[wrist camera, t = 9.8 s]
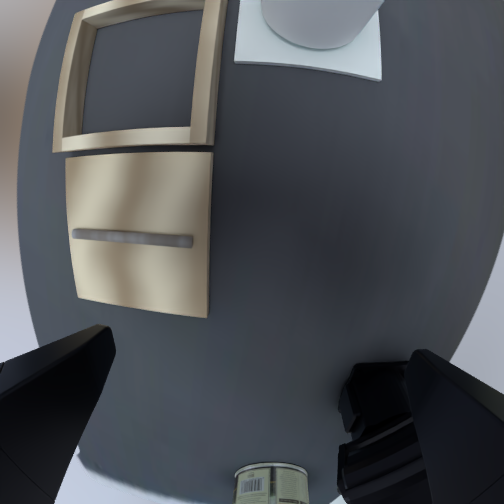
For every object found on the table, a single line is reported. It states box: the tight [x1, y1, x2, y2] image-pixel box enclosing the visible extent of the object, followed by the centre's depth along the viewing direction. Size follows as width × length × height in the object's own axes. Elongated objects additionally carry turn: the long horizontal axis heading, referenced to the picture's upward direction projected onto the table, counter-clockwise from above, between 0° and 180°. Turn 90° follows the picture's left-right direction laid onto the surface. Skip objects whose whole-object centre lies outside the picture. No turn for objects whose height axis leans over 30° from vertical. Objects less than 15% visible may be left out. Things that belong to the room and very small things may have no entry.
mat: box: [234, 0, 381, 82], centre depth 14 cm, size 10×10×1 cm
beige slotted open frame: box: [53, 0, 228, 318], centre depth 17 cm, size 12×24×2 cm, turn 176°
